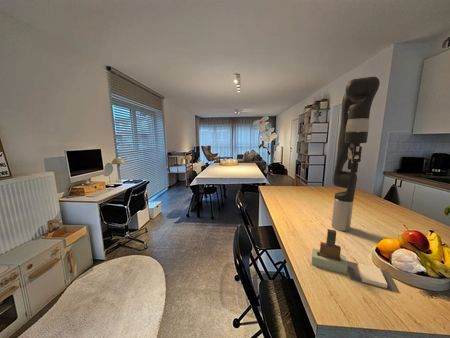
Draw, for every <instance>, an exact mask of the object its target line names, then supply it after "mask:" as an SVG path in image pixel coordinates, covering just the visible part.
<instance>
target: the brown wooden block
mask: <svg viewBox="0 0 450 338" xmlns="http://www.w3.org/2000/svg"><path fill="white" fill-rule="evenodd" d="M326 233H327V235H326V242H322V241H320V244H319V245H320V246H319V250H320V254H319V256H321V257H325V258H329V259H333V260H337V261H339V260H340V255H341V251H342V248H341V245H339V244H338V245H337V244H336V240H337V229H329V228H327V232H326Z"/></svg>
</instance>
